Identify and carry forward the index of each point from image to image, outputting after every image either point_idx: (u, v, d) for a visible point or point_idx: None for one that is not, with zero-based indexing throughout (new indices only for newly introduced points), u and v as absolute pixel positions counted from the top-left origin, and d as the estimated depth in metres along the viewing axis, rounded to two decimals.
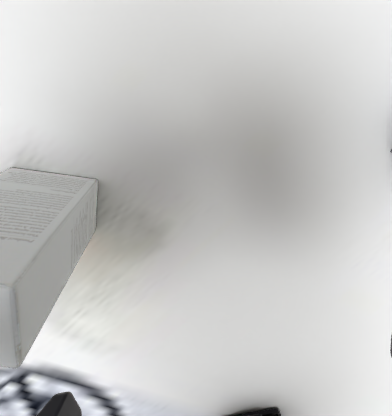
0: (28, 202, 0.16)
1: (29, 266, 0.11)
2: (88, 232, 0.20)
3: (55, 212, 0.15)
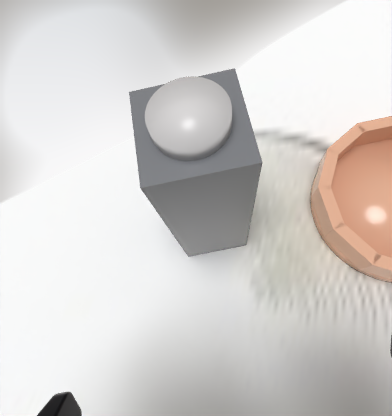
0: None
1: None
2: None
3: None
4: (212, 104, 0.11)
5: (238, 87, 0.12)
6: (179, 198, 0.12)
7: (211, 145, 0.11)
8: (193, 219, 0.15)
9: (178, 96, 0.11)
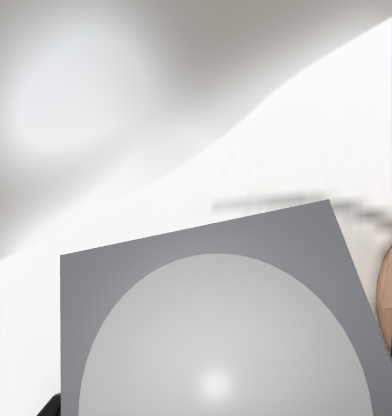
0: None
1: None
2: None
3: None
4: (300, 374, 0.03)
5: (347, 260, 0.04)
6: None
7: None
8: None
9: (186, 327, 0.04)
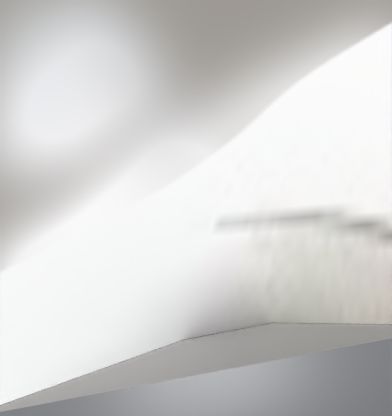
0: None
1: None
2: None
3: None
4: None
5: None
6: None
7: None
8: None
9: None
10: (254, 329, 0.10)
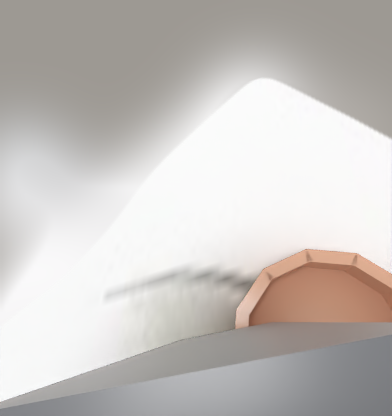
0: None
1: None
2: None
3: None
4: None
5: None
6: None
7: None
8: None
9: None
10: (253, 328, 0.10)
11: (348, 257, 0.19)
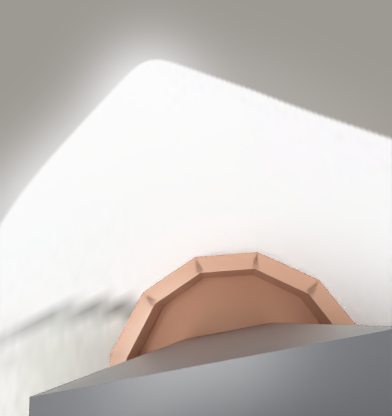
0: None
1: None
2: None
3: None
4: None
5: None
6: None
7: None
8: None
9: None
10: (253, 329, 0.11)
11: (247, 259, 0.15)
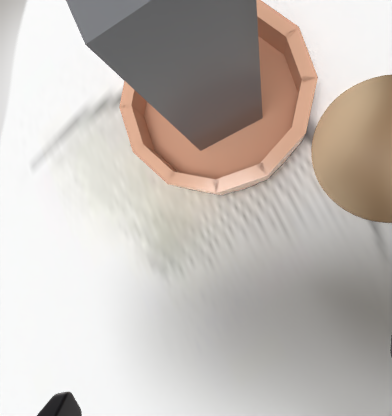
0: None
1: None
2: None
3: None
4: None
5: None
6: (151, 53, 0.09)
7: None
8: (185, 91, 0.12)
9: None
10: None
11: None
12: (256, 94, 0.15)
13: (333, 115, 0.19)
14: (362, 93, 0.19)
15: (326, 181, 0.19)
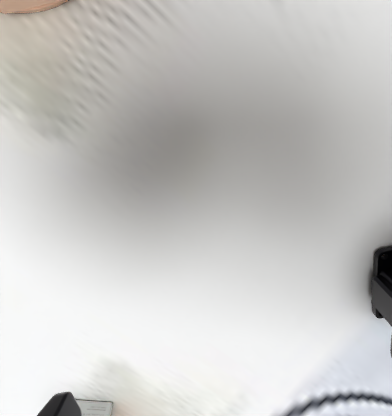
0: None
1: None
2: None
3: None
4: None
5: None
6: None
7: None
8: None
9: None
10: None
11: None
12: None
13: None
14: None
15: None
